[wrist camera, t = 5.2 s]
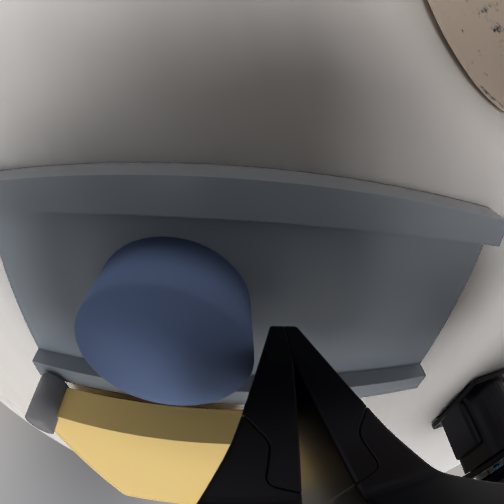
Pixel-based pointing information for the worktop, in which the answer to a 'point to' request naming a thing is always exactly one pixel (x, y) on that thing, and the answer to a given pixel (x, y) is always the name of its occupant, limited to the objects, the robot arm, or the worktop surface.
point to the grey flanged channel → (251, 256)
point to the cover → (137, 439)
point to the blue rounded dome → (168, 323)
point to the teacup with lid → (476, 41)
